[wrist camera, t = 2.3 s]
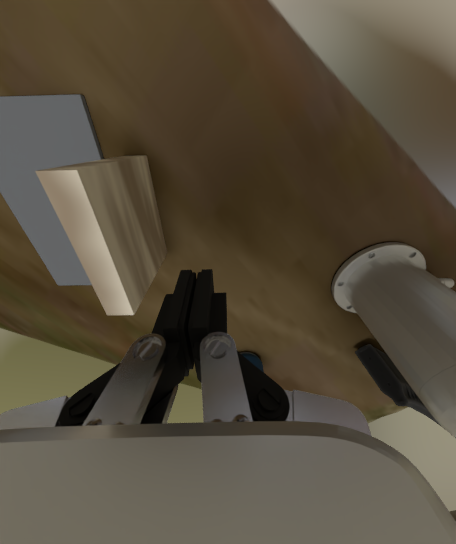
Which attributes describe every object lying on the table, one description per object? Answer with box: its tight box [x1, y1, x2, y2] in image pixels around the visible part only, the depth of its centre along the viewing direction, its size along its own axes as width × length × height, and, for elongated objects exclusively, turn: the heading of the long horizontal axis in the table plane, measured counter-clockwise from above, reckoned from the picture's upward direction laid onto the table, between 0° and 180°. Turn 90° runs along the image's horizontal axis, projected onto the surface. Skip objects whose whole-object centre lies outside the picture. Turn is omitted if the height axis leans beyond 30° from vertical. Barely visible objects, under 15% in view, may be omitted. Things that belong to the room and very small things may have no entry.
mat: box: [0, 94, 104, 285], centre depth 25 cm, size 13×22×1 cm, turn 1°
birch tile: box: [35, 155, 167, 315], centre depth 20 cm, size 2×12×12 cm, turn 1°
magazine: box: [355, 344, 441, 426], centre depth 40 cm, size 17×3×30 cm
